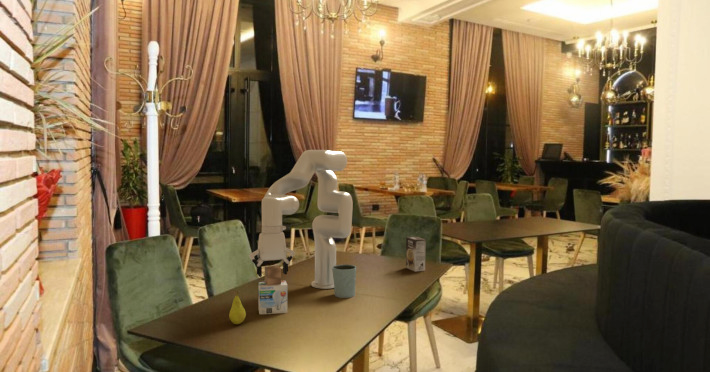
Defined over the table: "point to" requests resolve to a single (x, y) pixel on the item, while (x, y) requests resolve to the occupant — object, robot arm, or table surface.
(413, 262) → the coffee box
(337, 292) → the blue cup
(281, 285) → the light bulb box
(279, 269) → the walnut block
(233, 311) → the fruit
